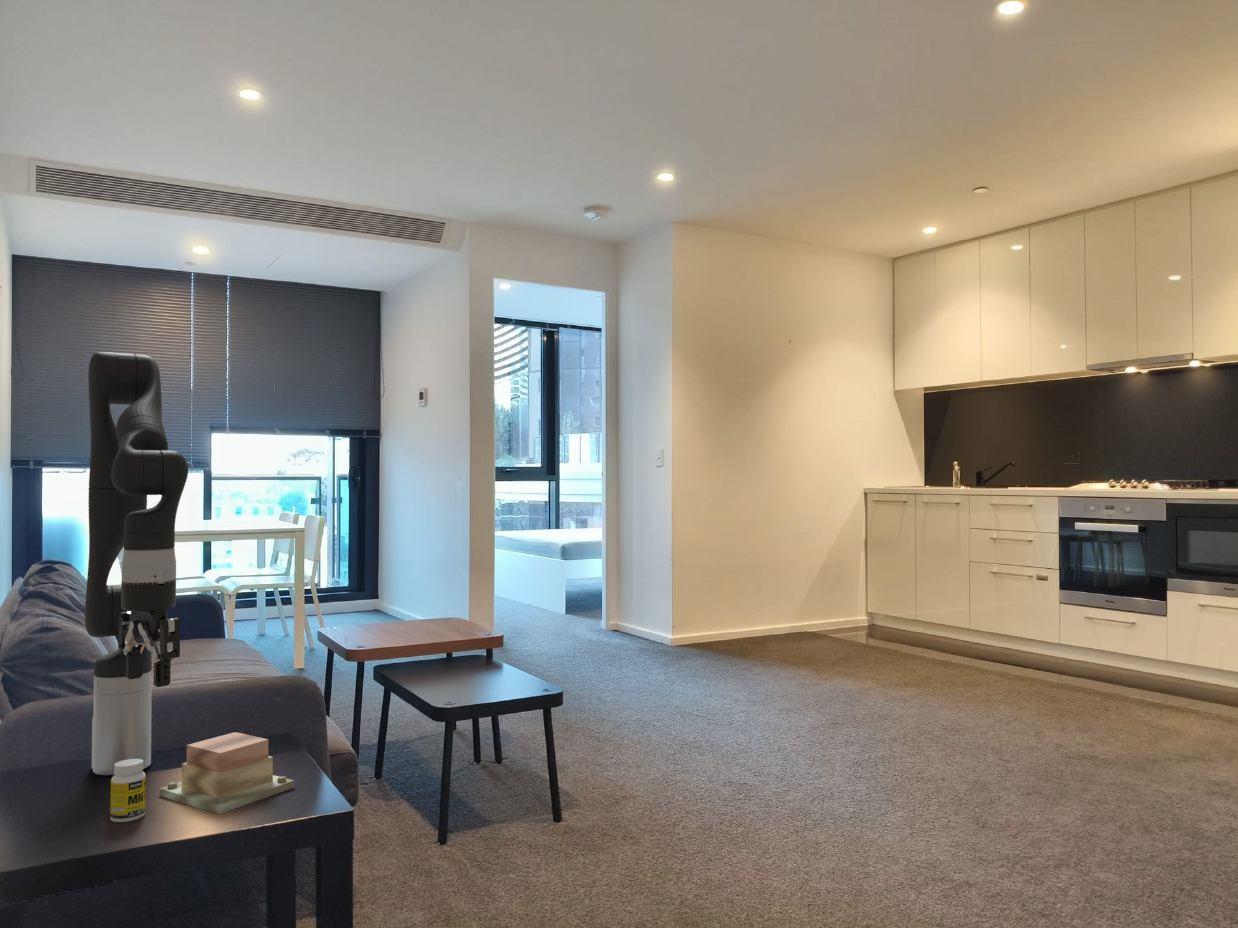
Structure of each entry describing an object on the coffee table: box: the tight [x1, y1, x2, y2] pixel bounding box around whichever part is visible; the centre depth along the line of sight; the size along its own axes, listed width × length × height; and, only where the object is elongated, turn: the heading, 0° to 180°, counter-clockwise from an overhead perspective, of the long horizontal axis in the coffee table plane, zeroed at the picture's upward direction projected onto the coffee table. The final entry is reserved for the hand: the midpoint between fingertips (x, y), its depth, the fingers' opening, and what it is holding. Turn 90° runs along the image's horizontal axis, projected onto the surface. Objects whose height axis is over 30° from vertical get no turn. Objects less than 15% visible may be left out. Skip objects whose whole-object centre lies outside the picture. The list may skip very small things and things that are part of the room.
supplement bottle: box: [109, 759, 147, 823], centre depth 136 cm, size 5×5×8 cm
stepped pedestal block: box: [158, 731, 295, 815], centre depth 147 cm, size 16×14×8 cm
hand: (147, 682), depth 137 cm, fingers open, 8 cm apart
